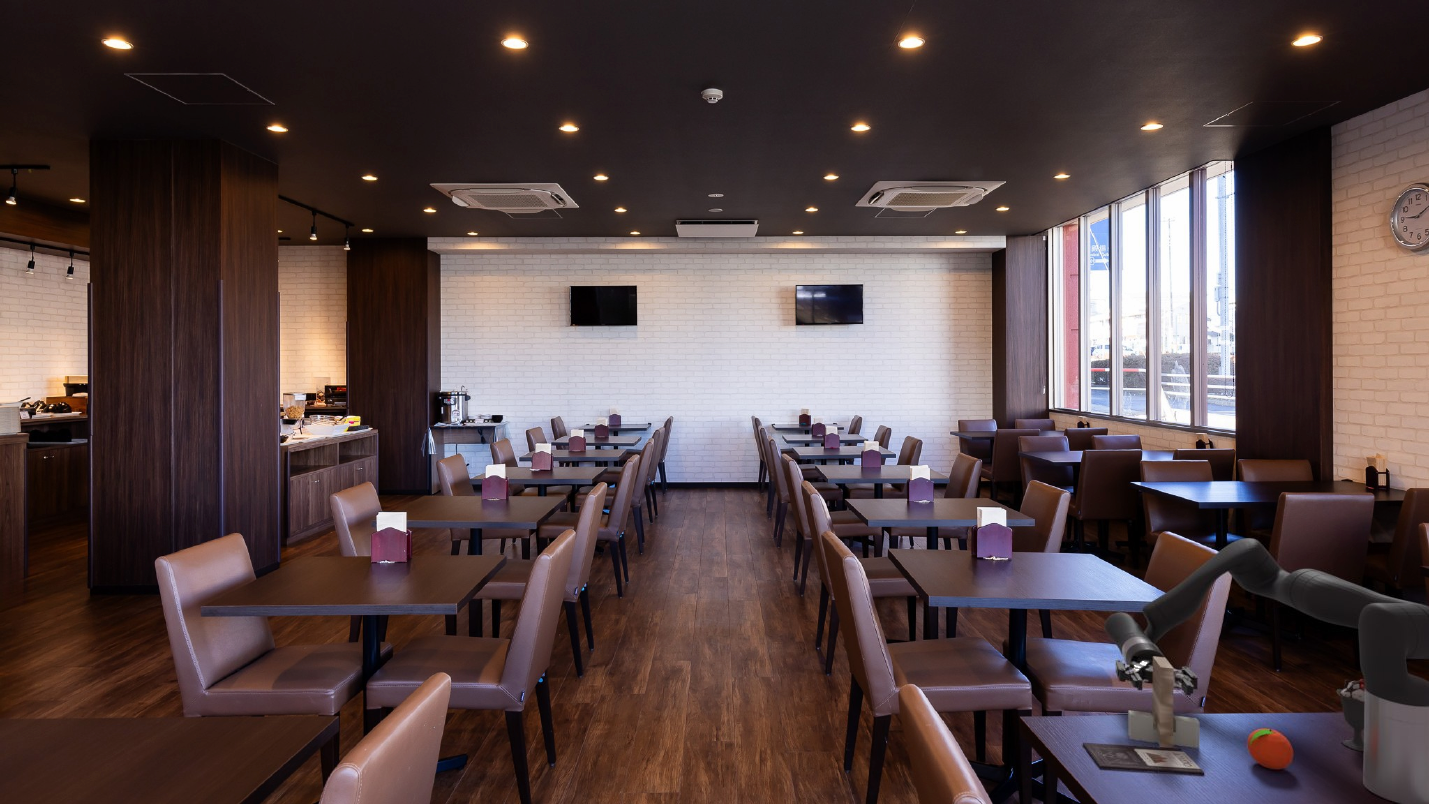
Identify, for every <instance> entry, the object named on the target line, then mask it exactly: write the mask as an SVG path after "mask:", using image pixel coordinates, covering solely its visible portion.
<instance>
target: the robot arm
mask: <svg viewBox="0 0 1429 804" xmlns="http://www.w3.org/2000/svg"><path fill="white" fill-rule="evenodd" d="M1226 573H1229V574H1230V575H1231V577H1232V578H1233V579H1234V581H1235V582H1236V583H1237V584H1238V585H1239V586H1240V587H1241V588H1242V589H1243V590H1245V591H1248V592H1249V593H1251V594H1252V593H1253V594H1255V595H1259V596H1261V597H1266V598H1270V599H1273V600H1275V601H1278V602H1280V603H1281V604H1285V605H1287V606H1289V607H1292V608H1294V609H1296V610H1298V611H1300V612H1302V613H1304V614H1306V615H1308V616H1311V617H1312V618H1314V619H1317V620H1319V621H1323V622H1326V623H1330V624H1333V625H1338V626H1343V627H1348V628H1352V629H1358V643H1359V645H1358V646H1359V664H1360V671H1361V673H1362V677H1363V678H1364V681H1365V708H1364V730H1363V742H1364V752H1363V766H1362V768H1363V770H1362V776H1363V777H1362V784H1363V786H1364V787H1365V788H1366V789H1367V790H1368V791H1370V792H1371V793H1373V794H1375V795H1376V796H1378V797H1380V798H1383V799H1385V800H1388V801H1392V802H1394V803H1398V804H1429V681H1428V680H1426V679H1424V678H1422V677H1419V676H1418V675H1417V676H1416V675H1413V674H1411V673H1409V672H1408V666H1407V659H1413V660H1414V659H1416V660H1417V659H1418V660H1429V606H1428V605H1425V604H1423V603H1418V602H1413V601H1409V600H1403V599H1399V598H1395V597H1391V596H1389V595H1386V594H1381V593H1379V592H1377V591H1374V590H1372V589H1369V588H1367V587H1363V586H1361V585H1358V584H1356V583H1353V582H1350V581H1347V580H1345V579H1342V578H1340V577H1337V576H1335V575H1332V574H1329V573H1327V572H1324V571H1321V570H1318V569H1313V568H1301V569H1298V570H1294V571H1292V572H1288V571H1286V570H1285V569H1283V568H1282V567H1281V566H1280V565H1279V564H1278V562H1277V561H1276V560H1275V558H1273V556H1272V555H1271V554H1270V552H1269V551H1268V550H1267V549H1266V547H1264V545H1263V544H1262V543H1261V542H1260V541H1259V540H1258V539H1255V538H1250V537H1249V538H1247V537H1246V538H1241V539H1238V540H1236V541H1233V542H1231V543H1229V544H1228V545H1226V546H1225V547H1223V548H1222V549H1221V550H1219V551H1218V552H1217V553H1216V554H1214V555H1213V556H1211V558H1209V559H1208V560H1207V561H1206V562H1204V563H1203V564H1202V565H1201V566H1200V567H1199V568H1197V569H1196V570H1195V571H1193V573H1191V574H1190V575H1189V576H1187V578H1186V579H1184V580H1183V581H1182V582H1181V583H1179V584H1177V586H1175V587H1173V588H1172V589H1170V590H1168V591H1167V592H1165V593H1164V594H1162V595H1160V596H1159V597H1157V598H1155V599H1153V600H1152V601H1150V602H1149V603H1147V604H1146V605H1144V606H1142V614H1143V615H1144V618H1145V619H1146V621H1147V626H1146V628H1145V630H1143V629H1142V627H1141V626H1140V624H1138V623H1137V621H1136V620H1135V618H1134V617H1133V616H1132V615H1130V614H1128V613H1126V612H1116V613H1113V614H1111V615H1109V616H1108V617H1107V619H1106V620H1105V623H1104V630H1105V633H1106V634H1107V635H1108V636H1109V637H1110V639H1111V640H1112V641H1113V643H1114V644H1115V646H1117V648H1118V649H1119V652H1120V654H1121V655H1122V657H1123V661H1124V662H1123V661H1122V660H1120V659H1116V660H1115V674H1116V676H1117V679H1118V682H1121V683H1124V682H1126V681H1128V683H1129V684H1131V685H1132V687H1134V688H1136V689H1137V691H1143V683H1146V684H1152V685H1153V656H1154V657H1165V656H1164V653H1162V652H1161V650H1160V649H1159V647H1158V646H1157V645H1156V643H1157V642H1158V641H1159V640H1161V638H1162V637H1163V636H1165V634H1166V633H1168V632H1169V631H1171V630H1172V629H1173V628H1175V627H1177V626H1179V625H1181V624H1182V623H1184V622H1186V621H1188V620H1190V618H1192V617H1193V616H1194V615H1195V614H1197V611H1199V609H1200V607H1201V605H1202V604H1203V602H1204V601H1205V598H1206V596H1207V594H1208V592H1209V590H1210V589H1211V588H1212V586H1213V584H1214V583H1215V582H1216V581H1217V580H1218V579H1219V578H1220V577H1222V576H1223V575H1224V574H1226ZM1180 680H1181V682H1180ZM1198 682H1199V681H1198V675H1197V674H1195V673H1194V671H1192V669H1191V668H1189V667H1188V666H1181V669H1176V668H1174V671H1173V688H1176V687H1177V688H1179V689H1181V690H1182V691H1183V692H1184V694H1185V696H1188V697H1191V696H1192V694H1194V690H1198V689H1199V688H1198V684H1199V683H1198Z"/></svg>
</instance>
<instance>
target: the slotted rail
mask: <svg viewBox="0 0 1429 804" xmlns="http://www.w3.org/2000/svg"><path fill="white" fill-rule="evenodd" d="M1127 713H1128V714H1127V716H1128V717H1127V718H1128V719H1127V724H1128V725H1127V731H1128V732H1127V735H1128V734H1129V735H1128V737H1129V736H1130V737H1129V739H1130V738H1131V739H1130V740H1132V739H1138V740H1137V741H1140V740H1142V742H1147V743H1155V742H1158V743H1157V744H1159V732H1158V730H1157V729H1156V727H1155V726H1154V725H1153V716H1152V712H1148V711H1147V712H1145V711H1136V710H1128V711H1127ZM1173 737H1174V746H1181V747H1188V748H1189V747H1190V748H1195V749H1200V722H1199V720H1198V719H1197V718H1196V717H1189V716H1188V717H1187V716H1180V715H1173Z"/></svg>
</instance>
